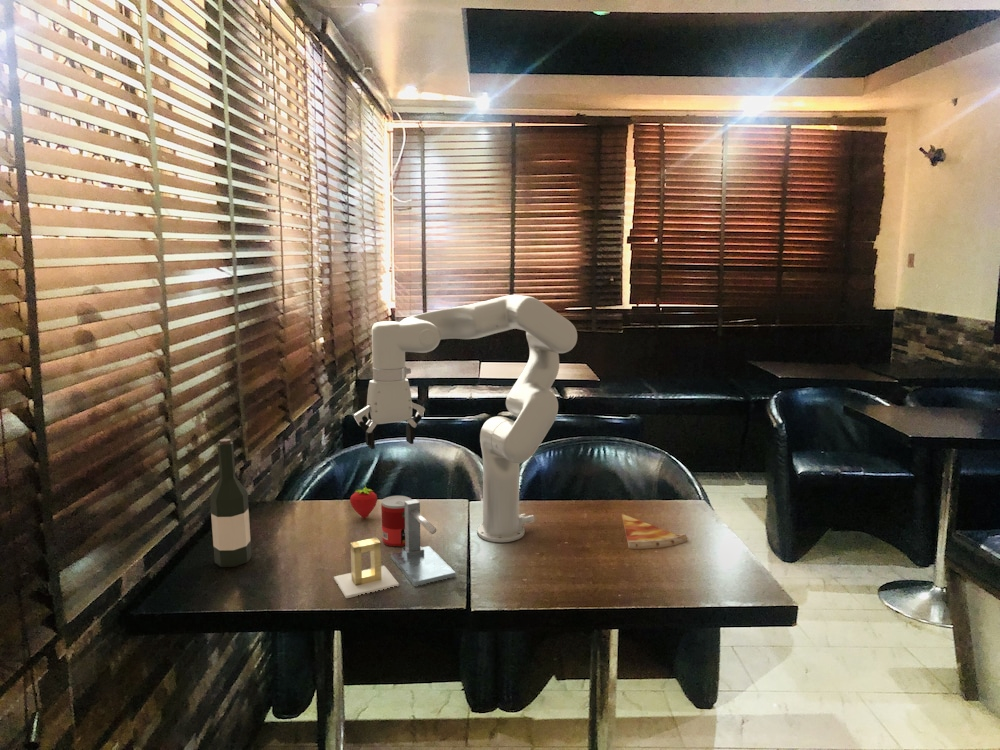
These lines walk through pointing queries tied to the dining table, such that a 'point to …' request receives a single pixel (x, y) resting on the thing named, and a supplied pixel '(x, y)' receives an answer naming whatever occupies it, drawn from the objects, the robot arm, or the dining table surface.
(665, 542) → the pizza slice
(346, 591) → the pad
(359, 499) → the strawberry
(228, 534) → the wine bottle
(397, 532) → the canned food
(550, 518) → the dining table surface
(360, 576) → the rectangular frame block
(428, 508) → the dining table surface
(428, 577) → the stand
